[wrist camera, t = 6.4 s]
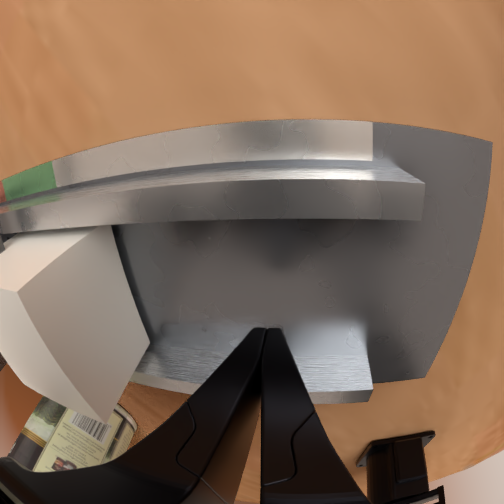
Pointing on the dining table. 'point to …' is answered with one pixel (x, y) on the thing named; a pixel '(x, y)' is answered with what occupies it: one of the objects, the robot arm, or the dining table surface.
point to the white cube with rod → (69, 317)
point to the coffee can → (70, 438)
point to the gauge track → (278, 241)
